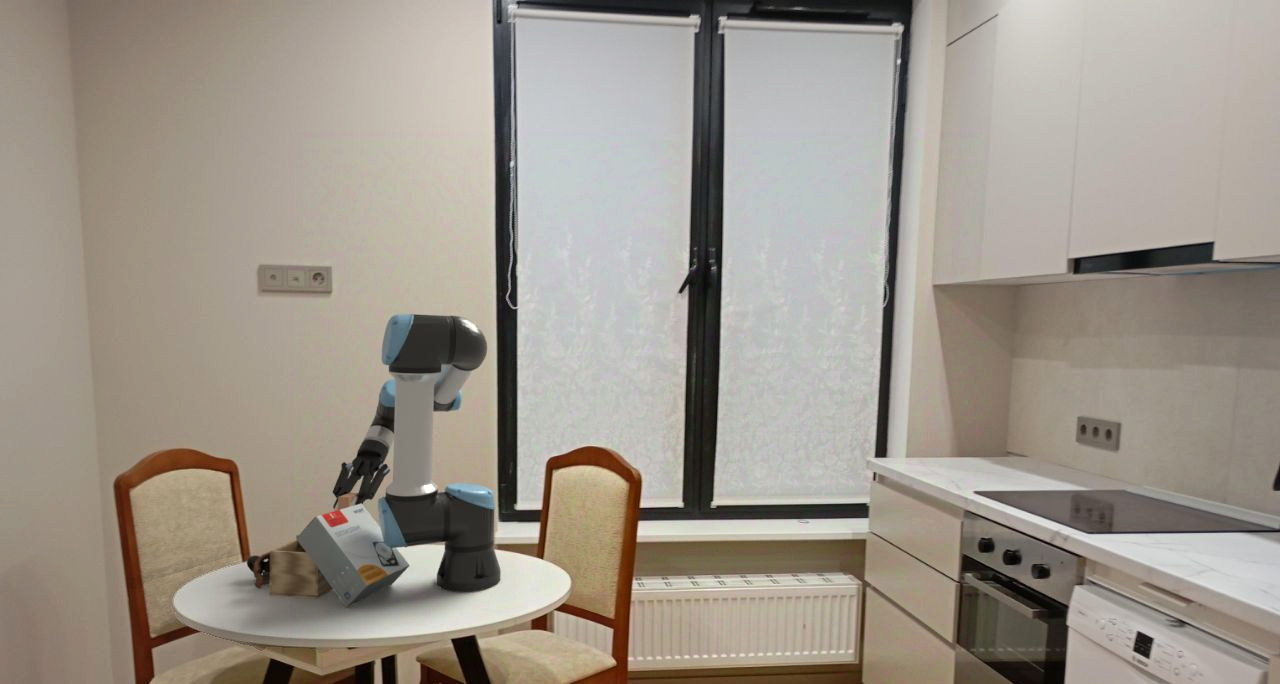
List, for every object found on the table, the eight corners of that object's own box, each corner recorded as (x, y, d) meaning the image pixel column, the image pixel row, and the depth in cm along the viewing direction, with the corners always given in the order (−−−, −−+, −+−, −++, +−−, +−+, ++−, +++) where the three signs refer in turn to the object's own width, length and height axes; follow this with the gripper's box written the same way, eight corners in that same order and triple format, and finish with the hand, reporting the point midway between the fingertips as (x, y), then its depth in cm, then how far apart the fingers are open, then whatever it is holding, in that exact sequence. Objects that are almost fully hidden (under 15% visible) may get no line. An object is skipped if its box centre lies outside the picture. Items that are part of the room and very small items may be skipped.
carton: (353, 577, 163) (353, 536, 163) (317, 598, 149) (318, 554, 149) (308, 574, 165) (309, 534, 165) (269, 595, 151) (270, 551, 151)
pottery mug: (303, 576, 165) (302, 553, 161) (277, 606, 156) (275, 582, 152) (260, 562, 166) (257, 538, 162) (231, 591, 157) (228, 566, 154)
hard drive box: (367, 586, 142) (313, 516, 146) (346, 609, 143) (293, 539, 148) (411, 564, 157) (361, 502, 161) (392, 585, 158) (342, 523, 162)
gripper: (407, 455, 186) (375, 530, 169) (354, 453, 188) (317, 527, 171) (398, 438, 181) (364, 514, 164) (343, 437, 183) (304, 511, 166)
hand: (340, 521), depth 168 cm, fingers closed on lid, 3 cm apart
